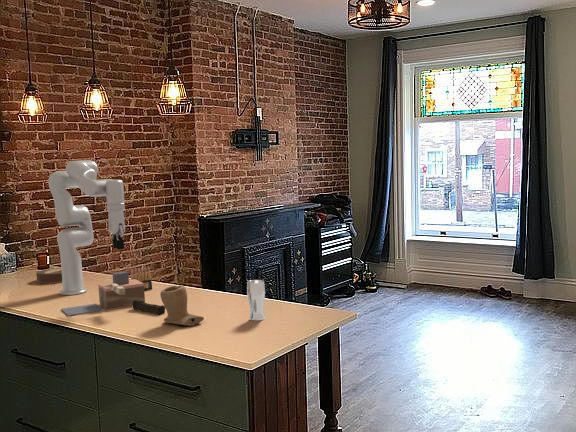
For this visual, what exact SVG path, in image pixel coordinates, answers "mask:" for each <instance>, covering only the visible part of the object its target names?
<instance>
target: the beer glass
mask: <svg viewBox="0 0 576 432" xmlns="http://www.w3.org/2000/svg"><path fill="white" fill-rule="evenodd" d="M246 283H247V286H246V292H247V293H246V295H247V301H248V305H249V320H250V321H252V322H258V321H259V322H260V321H264V320H265V319H266V317H265V313H264V311H265V310H264V306H265V299H266V288H265V287H266V286H265V280H262V279H252V280H248V281H247V282H246Z"/></svg>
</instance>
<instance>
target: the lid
mask: <svg viewBox="0 0 576 432" xmlns="http://www.w3.org/2000/svg"><path fill="white" fill-rule="evenodd" d="M111 274H112V282H107V283H98V285H97V286H98V289H99V288H101V289H103V290H104V291H112V290H111V286H110V284H112V283H116V284H118V285H119V286H121V287H123V288H125V289H126V288H133V287H140V286H144V283H142V282H140V281H138V280H136V279H133V280H131V279H129V272H128V271H117V272H112V273H111Z"/></svg>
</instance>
